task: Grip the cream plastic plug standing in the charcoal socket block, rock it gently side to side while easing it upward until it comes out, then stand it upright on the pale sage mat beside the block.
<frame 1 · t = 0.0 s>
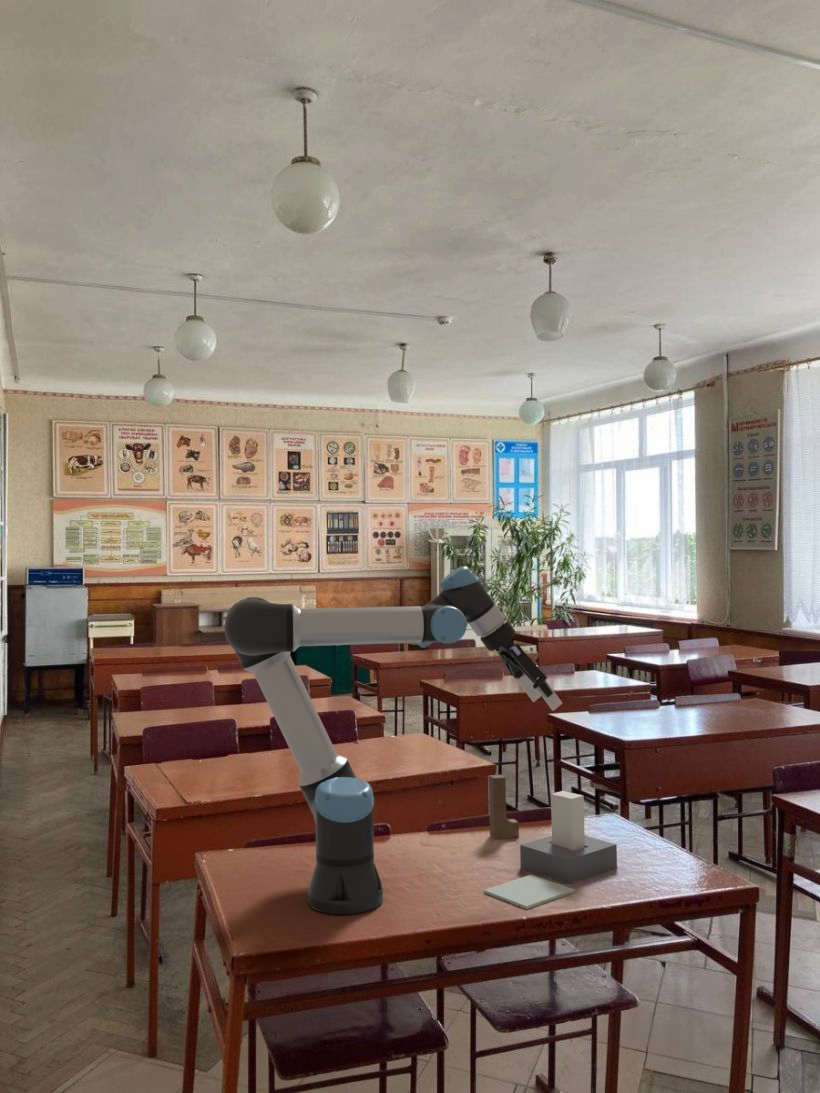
hand: (547, 702, 203), 36 cm above the table, tool tilted 35°, fingers open, 13 cm apart
wooden block: (504, 837, 223), on the table
socket block: (568, 867, 199), on the table
mat: (529, 892, 184), on the table
plug: (567, 831, 199), in the socket block
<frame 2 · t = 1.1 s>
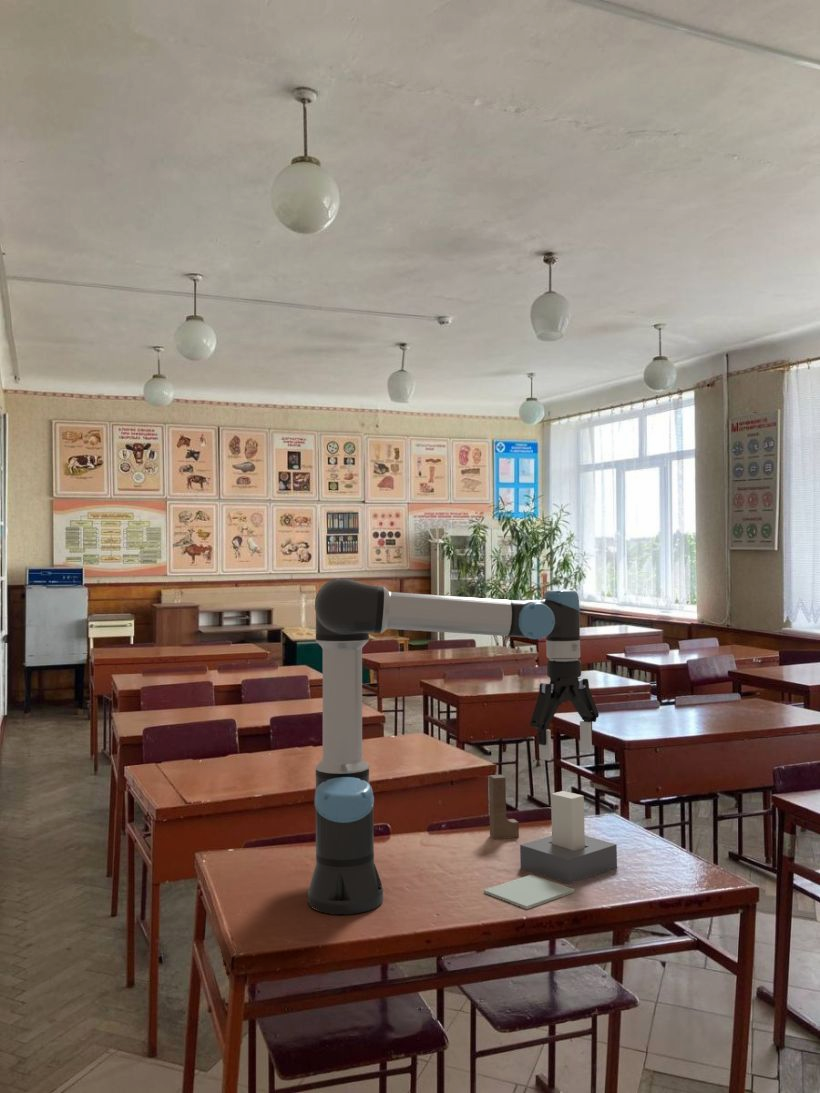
hand: (566, 755, 200), 25 cm above the table, tool pointing down, fingers open, 13 cm apart
nothing on the table moved.
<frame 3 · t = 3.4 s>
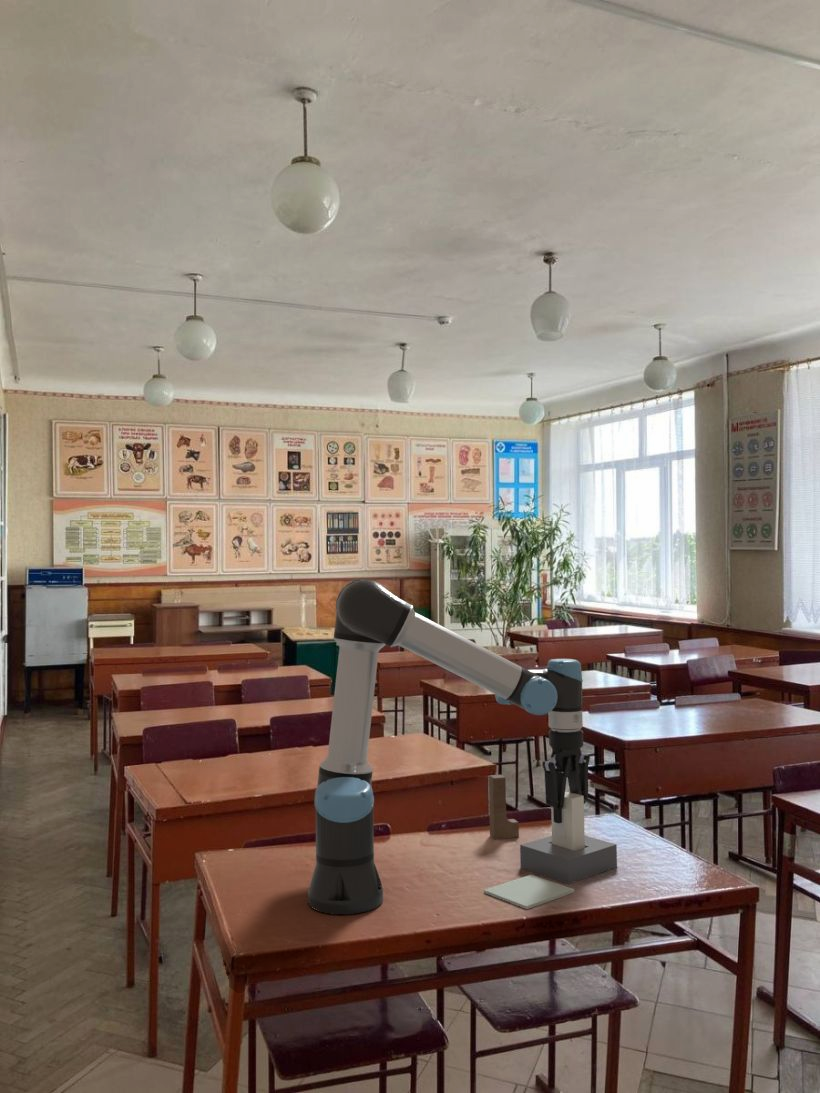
hand: (568, 834, 199), 7 cm above the table, tool pointing down, fingers closed on plug, 4 cm apart
plug: (567, 831, 199), in the socket block, touching gripper
everything else where it was.
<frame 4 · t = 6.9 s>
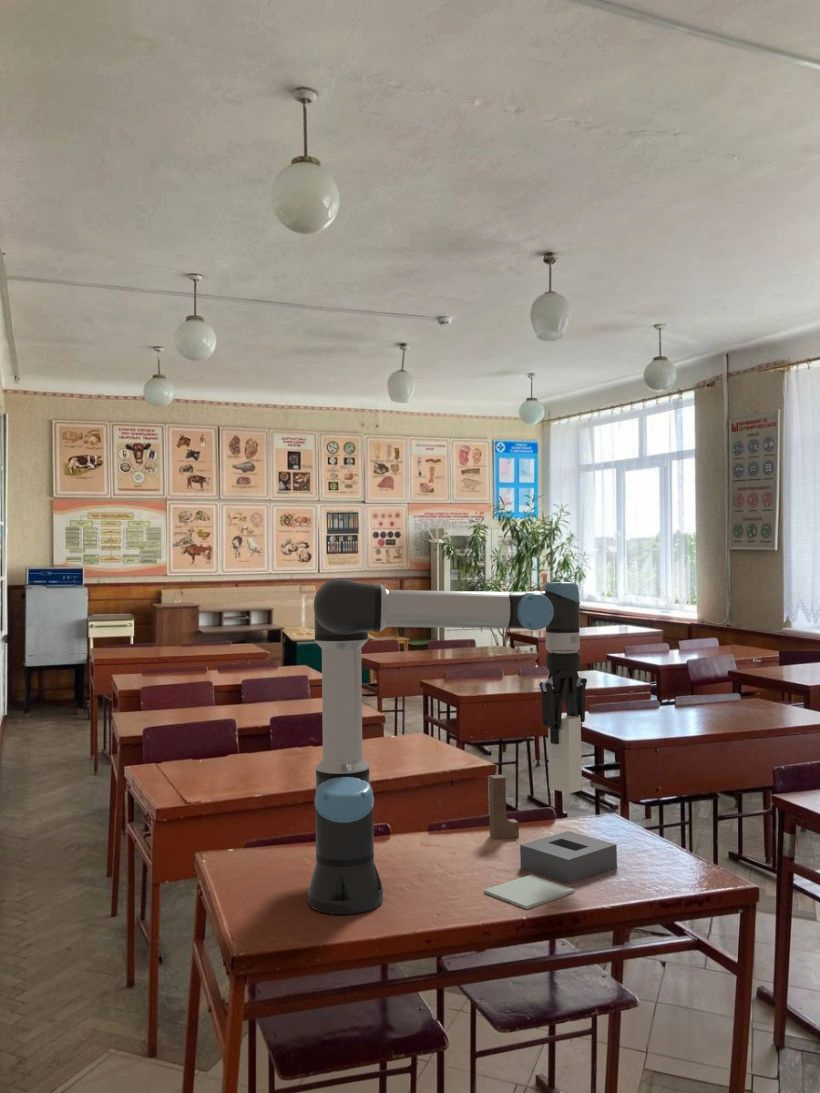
hand: (564, 756, 199), 24 cm above the table, tool pointing down, fingers closed on plug, 4 cm apart
plug: (564, 753, 199), point 25 cm above the table, touching gripper
everything else where it was.
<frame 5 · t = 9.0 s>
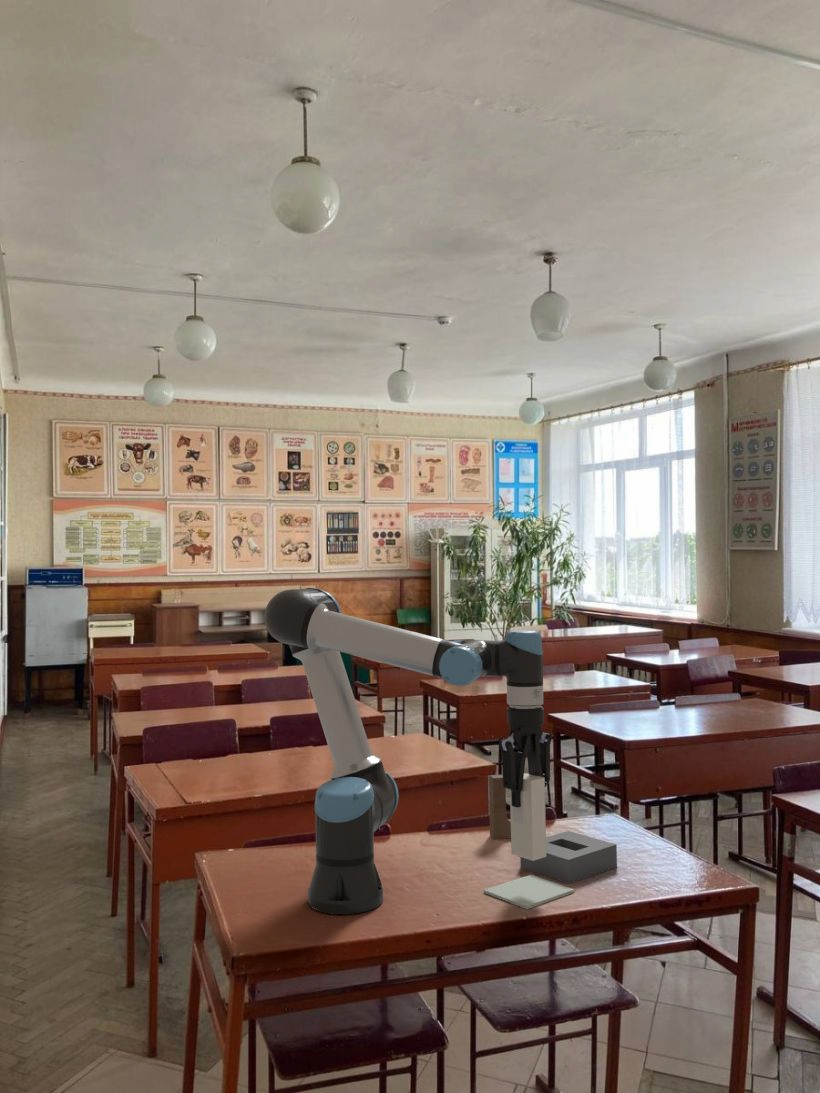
hand: (527, 820, 184), 15 cm above the table, tool pointing down, fingers closed on plug, 4 cm apart
plug: (527, 815, 184), point 16 cm above the table, touching gripper
everything else where it was.
when the fingers open (9 cm above the table, at t = 10.6 s): plug drops 1 cm, resting on mat.
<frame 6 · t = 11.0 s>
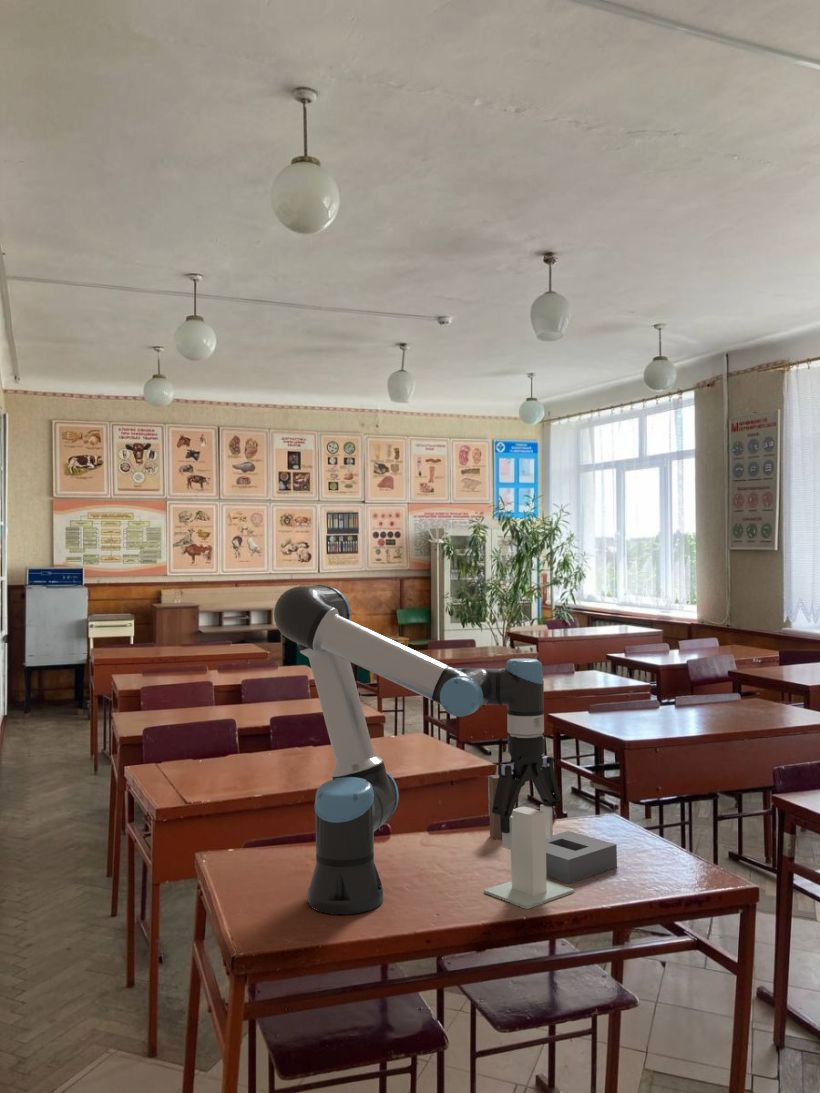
hand: (528, 842, 184), 10 cm above the table, tool pointing down, fingers open, 10 cm apart
plug: (528, 850, 184), on the mat, point 9 cm above the table
everything else where it was.
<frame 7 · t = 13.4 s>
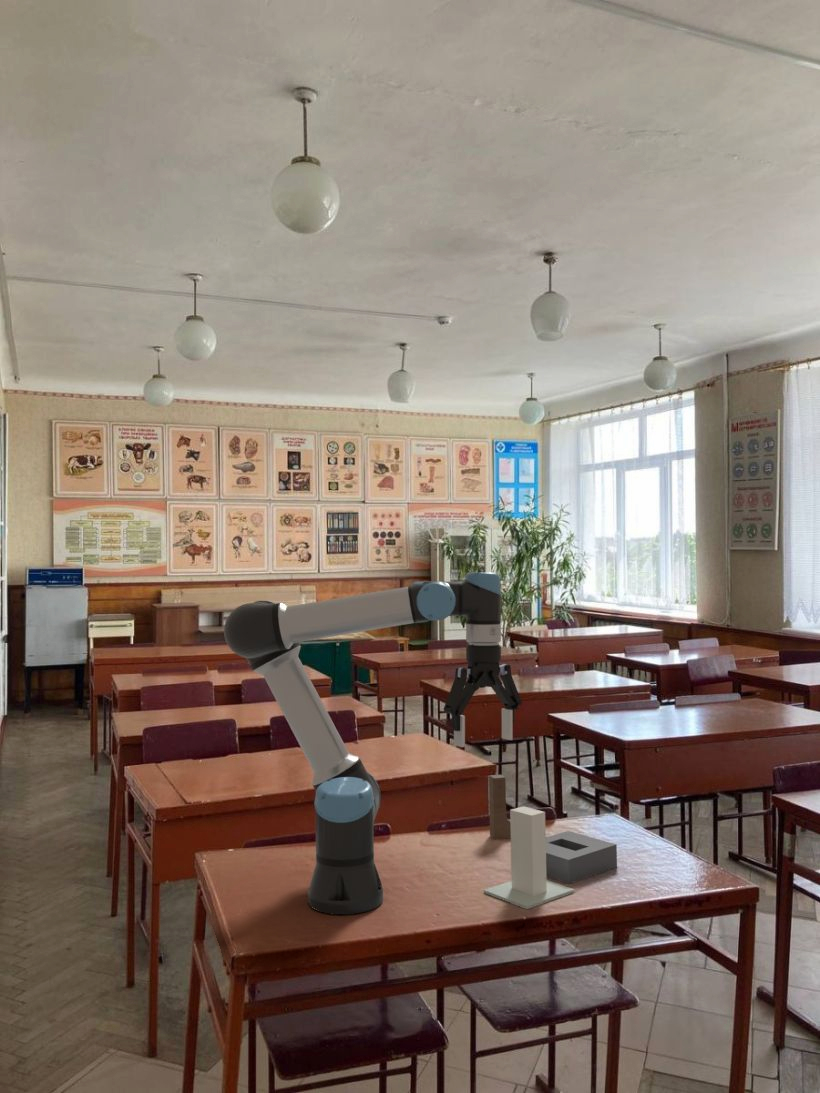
hand: (483, 742, 193), 29 cm above the table, tool pointing down, fingers open, 13 cm apart
nothing on the table moved.
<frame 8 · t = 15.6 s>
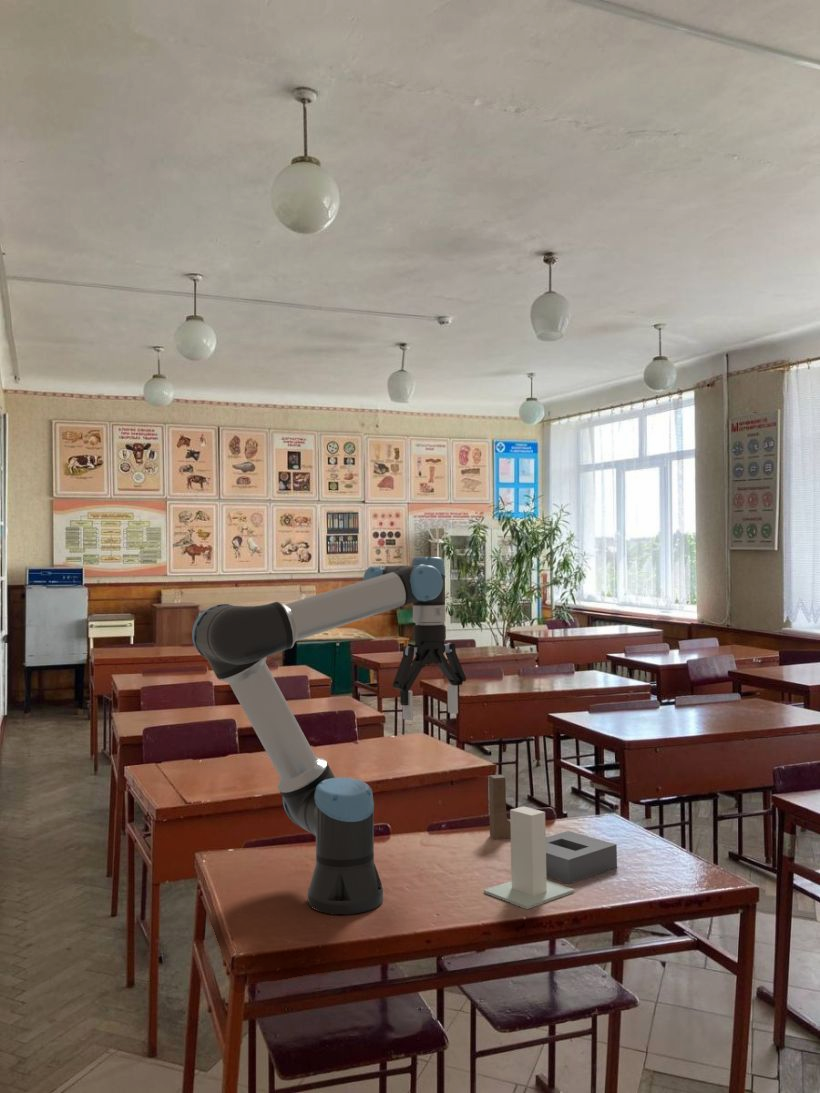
hand: (430, 716, 207), 33 cm above the table, tool pointing down, fingers open, 13 cm apart
nothing on the table moved.
at the end: plug inside the target area on the mat (0.0 cm from its centre), point 8.6 cm above the mat's base; plug tilted 0°; the gripper is holding nothing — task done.
